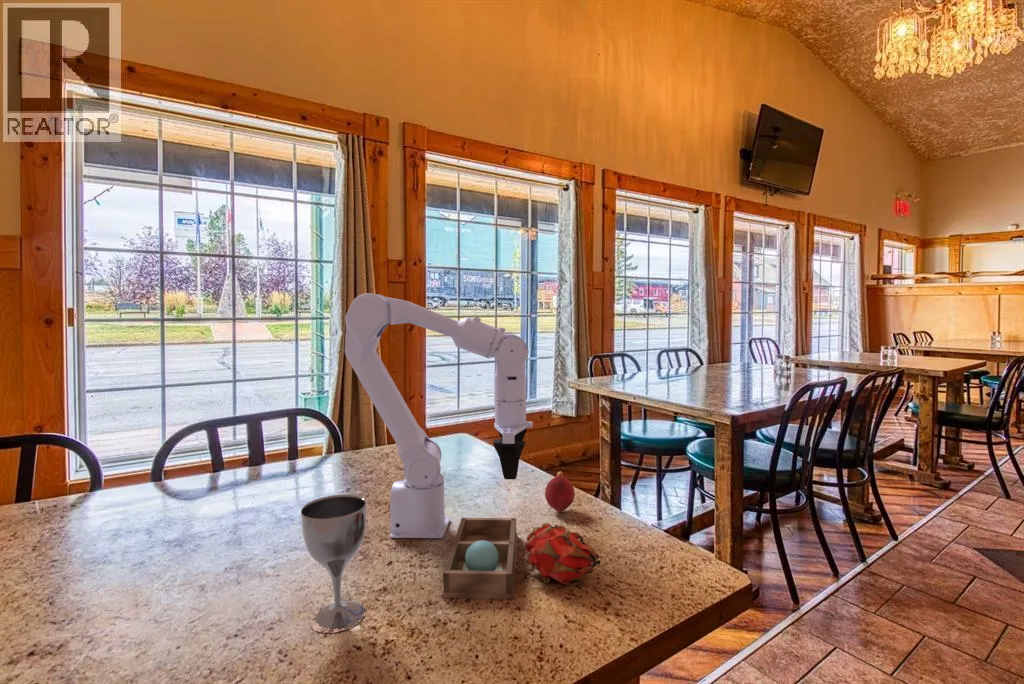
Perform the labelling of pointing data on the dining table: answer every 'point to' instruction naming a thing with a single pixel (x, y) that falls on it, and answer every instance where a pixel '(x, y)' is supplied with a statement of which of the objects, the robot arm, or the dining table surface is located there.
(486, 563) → the ball
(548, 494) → the onion
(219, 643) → the dining table surface
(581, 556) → the dragon fruit
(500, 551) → the divided wooden tray
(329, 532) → the wine glass
